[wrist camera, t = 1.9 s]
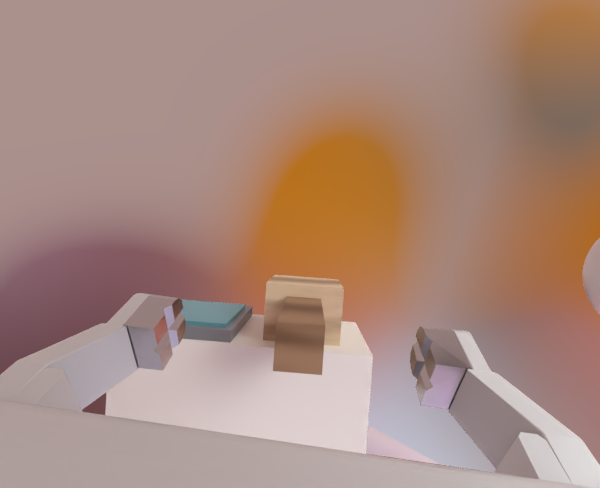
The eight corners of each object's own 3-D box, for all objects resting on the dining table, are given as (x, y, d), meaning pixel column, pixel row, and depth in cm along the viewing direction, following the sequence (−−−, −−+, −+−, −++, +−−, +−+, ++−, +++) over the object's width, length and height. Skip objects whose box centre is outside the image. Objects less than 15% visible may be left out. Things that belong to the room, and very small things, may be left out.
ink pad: (252, 315, 42) (252, 303, 41) (230, 342, 31) (231, 326, 30) (165, 308, 42) (165, 297, 42) (113, 333, 31) (114, 317, 31)
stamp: (352, 395, 22) (358, 310, 22) (240, 385, 22) (245, 302, 22) (334, 325, 39) (337, 278, 39) (272, 320, 40) (275, 274, 40)
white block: (342, 496, 42) (355, 322, 41) (355, 599, 30) (372, 355, 30) (156, 478, 43) (166, 307, 42) (96, 571, 31) (110, 334, 30)
